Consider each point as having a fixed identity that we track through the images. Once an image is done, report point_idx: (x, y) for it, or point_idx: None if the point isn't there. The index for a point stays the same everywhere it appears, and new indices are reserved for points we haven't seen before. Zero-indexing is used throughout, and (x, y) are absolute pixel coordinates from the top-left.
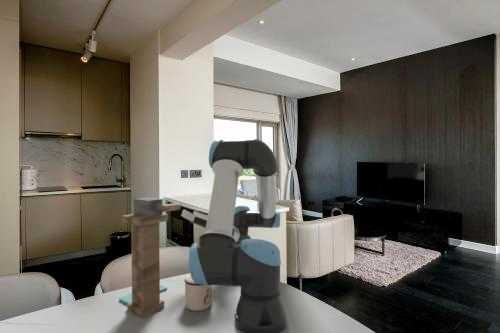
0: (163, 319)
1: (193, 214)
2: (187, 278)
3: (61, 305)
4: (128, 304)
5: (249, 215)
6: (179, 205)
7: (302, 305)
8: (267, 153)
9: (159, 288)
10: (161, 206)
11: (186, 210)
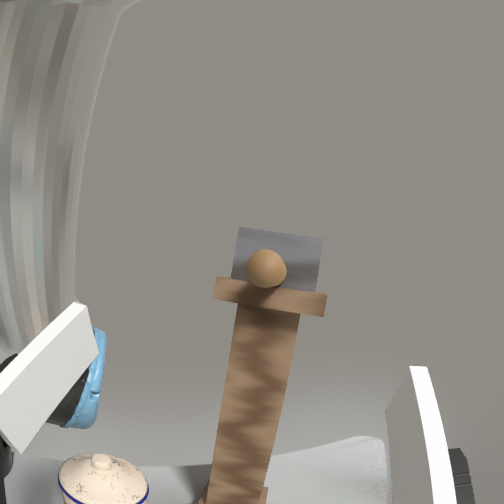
0: (162, 485)
1: (430, 491)
2: (132, 466)
3: (384, 470)
4: (263, 487)
5: None
6: (249, 260)
7: None
8: None
9: (209, 482)
10: (236, 251)
11: (412, 384)
